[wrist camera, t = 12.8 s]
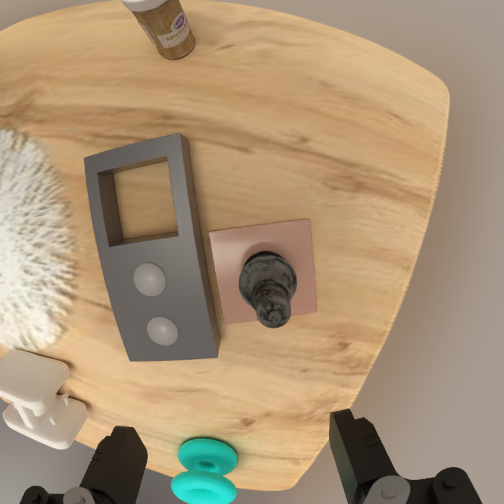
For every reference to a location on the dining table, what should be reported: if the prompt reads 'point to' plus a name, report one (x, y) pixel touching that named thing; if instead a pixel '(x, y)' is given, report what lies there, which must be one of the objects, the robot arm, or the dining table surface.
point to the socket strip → (154, 259)
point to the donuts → (205, 472)
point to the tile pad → (255, 240)
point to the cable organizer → (39, 399)
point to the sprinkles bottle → (164, 25)
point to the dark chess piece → (268, 287)
